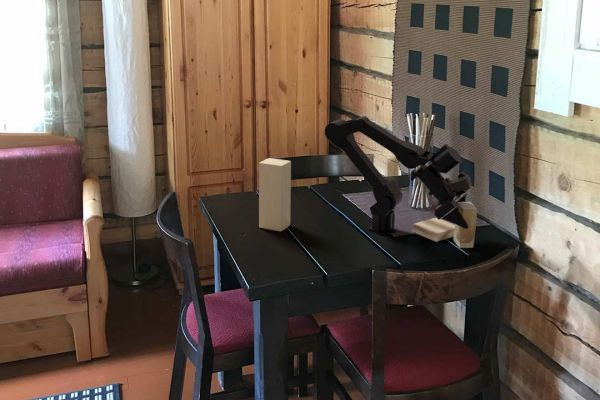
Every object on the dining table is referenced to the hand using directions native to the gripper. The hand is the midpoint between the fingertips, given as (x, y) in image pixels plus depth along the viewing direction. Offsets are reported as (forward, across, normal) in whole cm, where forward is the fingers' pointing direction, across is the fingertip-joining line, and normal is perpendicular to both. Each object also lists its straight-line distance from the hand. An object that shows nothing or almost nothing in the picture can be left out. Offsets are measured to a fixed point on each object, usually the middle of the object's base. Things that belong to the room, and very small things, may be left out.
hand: (470, 223), depth 199 cm
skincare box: (+4, 0, +6) cm, 7 cm away
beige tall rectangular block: (-36, -10, +46) cm, 59 cm away
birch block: (-3, +6, +13) cm, 14 cm away
